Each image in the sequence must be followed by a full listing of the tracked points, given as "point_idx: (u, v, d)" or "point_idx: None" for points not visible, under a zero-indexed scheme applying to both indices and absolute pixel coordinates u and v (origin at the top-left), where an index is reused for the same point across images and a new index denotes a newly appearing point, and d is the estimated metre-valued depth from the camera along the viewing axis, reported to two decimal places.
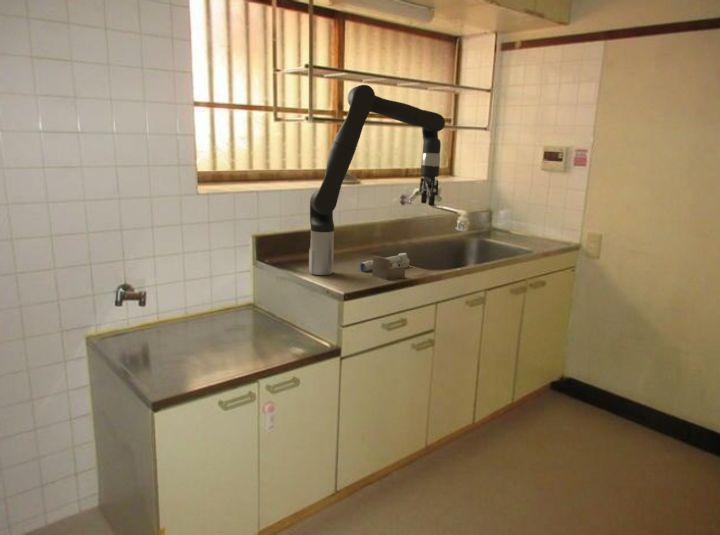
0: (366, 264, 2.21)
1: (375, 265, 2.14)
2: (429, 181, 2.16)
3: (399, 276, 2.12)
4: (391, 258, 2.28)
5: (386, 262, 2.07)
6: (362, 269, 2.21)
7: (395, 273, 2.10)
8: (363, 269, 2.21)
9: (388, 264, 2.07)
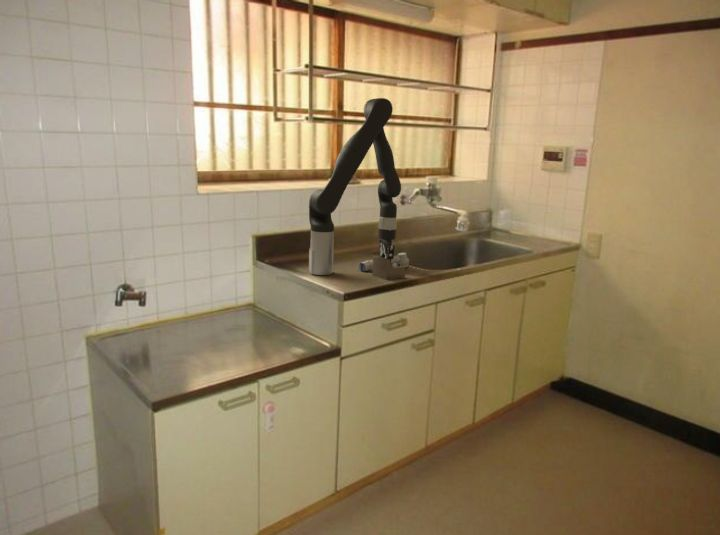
0: (365, 264, 2.21)
1: (375, 265, 2.14)
2: (386, 245, 2.23)
3: (399, 276, 2.12)
4: None
5: (386, 262, 2.07)
6: (361, 269, 2.21)
7: (395, 273, 2.10)
8: (362, 269, 2.20)
9: (388, 264, 2.07)
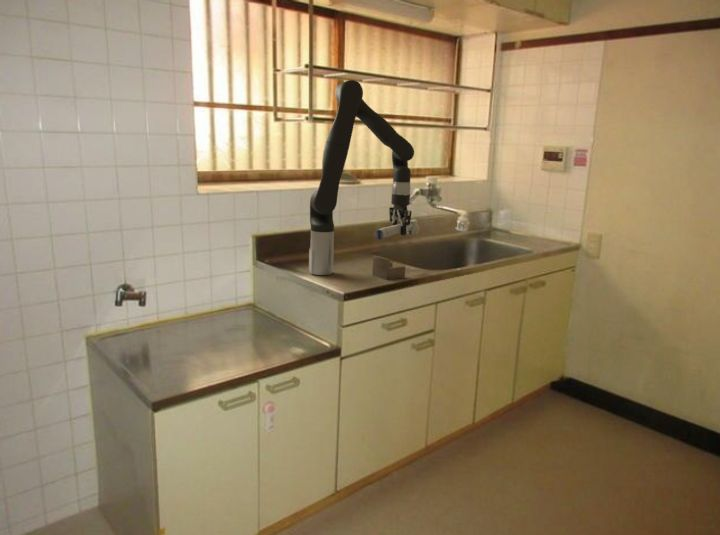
0: (383, 231, 2.12)
1: (375, 265, 2.14)
2: (401, 211, 2.17)
3: (399, 276, 2.12)
4: None
5: (386, 262, 2.07)
6: (379, 236, 2.13)
7: (395, 273, 2.10)
8: (380, 236, 2.12)
9: (388, 264, 2.07)
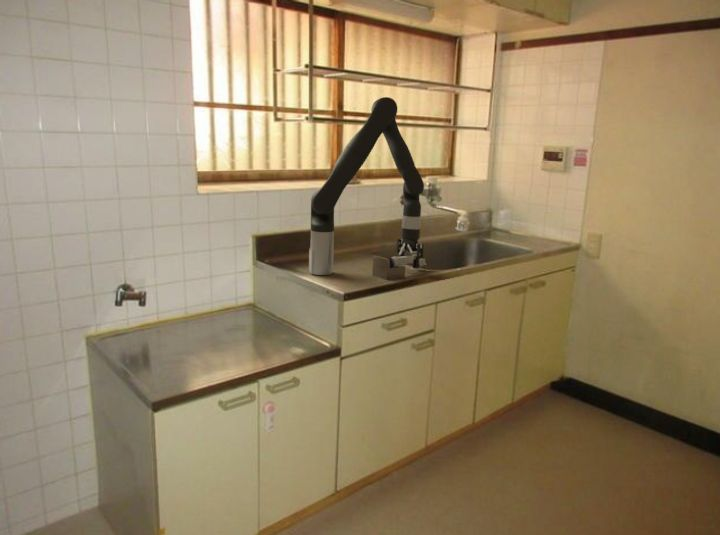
0: (393, 258, 2.11)
1: (375, 265, 2.14)
2: (412, 244, 2.15)
3: (399, 276, 2.12)
4: (410, 256, 2.22)
5: (386, 262, 2.07)
6: (391, 264, 2.10)
7: (395, 273, 2.10)
8: (392, 263, 2.09)
9: (388, 264, 2.07)
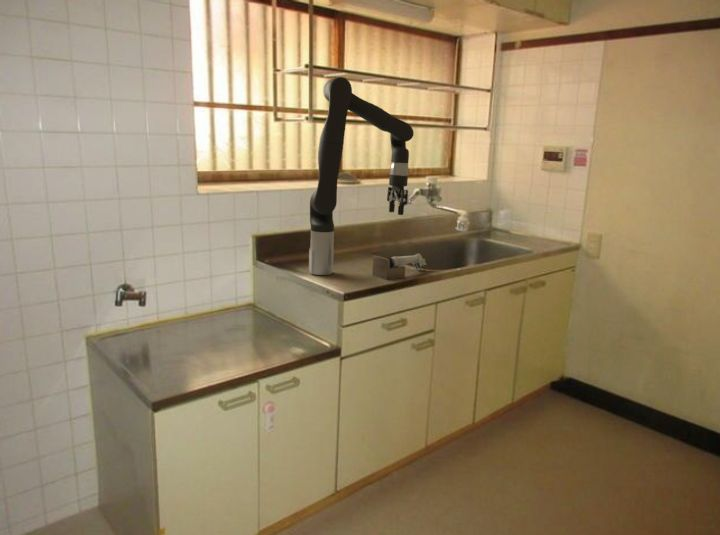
0: (393, 258, 2.11)
1: (375, 265, 2.14)
2: (398, 190, 2.17)
3: (399, 276, 2.12)
4: (410, 256, 2.22)
5: (386, 262, 2.07)
6: (391, 264, 2.10)
7: (395, 273, 2.10)
8: (392, 262, 2.09)
9: (388, 264, 2.07)
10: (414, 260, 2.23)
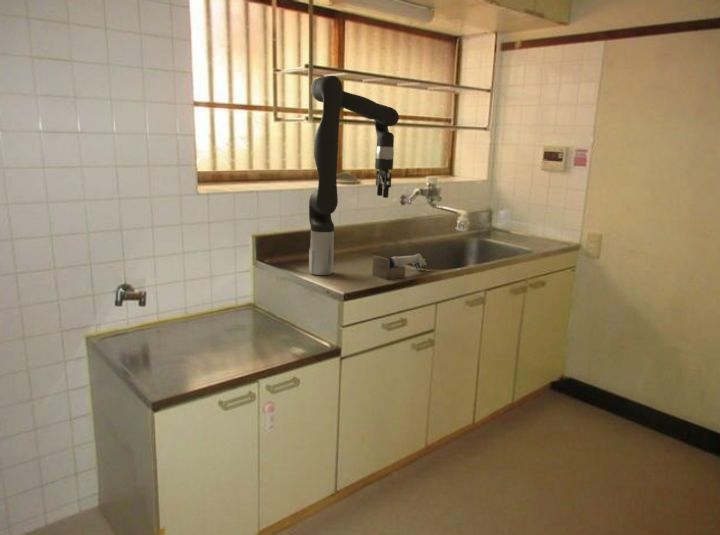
0: (393, 258, 2.11)
1: (375, 265, 2.14)
2: (383, 174, 2.23)
3: (399, 276, 2.12)
4: (409, 256, 2.22)
5: (386, 262, 2.07)
6: (391, 264, 2.10)
7: (395, 273, 2.10)
8: (392, 262, 2.09)
9: (388, 264, 2.07)
10: (414, 260, 2.23)
